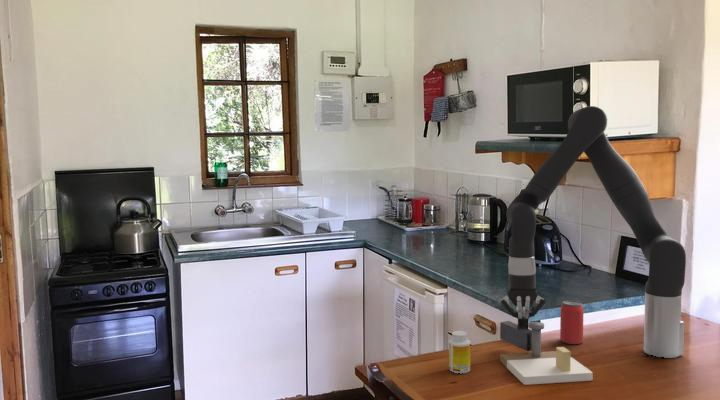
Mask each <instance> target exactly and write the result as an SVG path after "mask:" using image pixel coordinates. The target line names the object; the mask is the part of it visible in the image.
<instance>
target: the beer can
mask: <svg viewBox="0 0 720 400" xmlns="http://www.w3.org/2000/svg"><path fill="white" fill-rule="evenodd" d="M584 314H585V312H584V307H583V303H582V302H580V301H578V300H573V299H572V300H564V301H562V304H561V307H560V315H559V316H560V326H559V327H560V328H559V331H560V332H559V333H560V334H559V335H560V336H559V339H560V341H561V343H564V344H567V345H581V344H582V343H583V342H584Z"/></svg>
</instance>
